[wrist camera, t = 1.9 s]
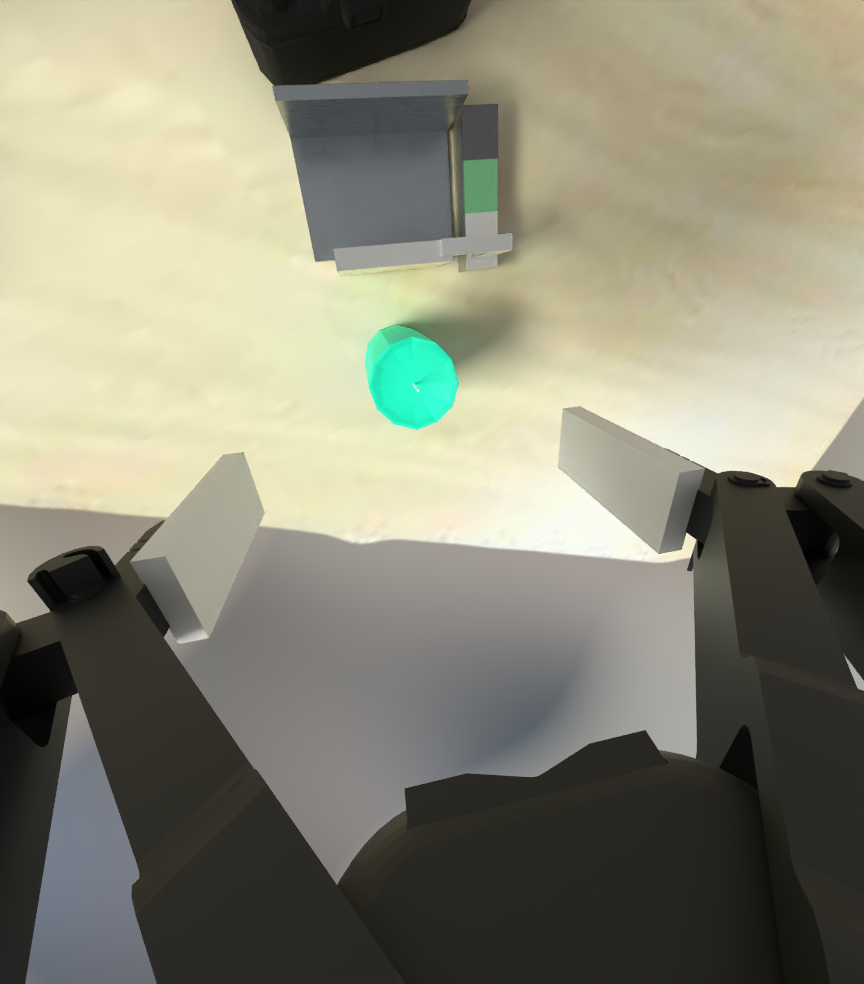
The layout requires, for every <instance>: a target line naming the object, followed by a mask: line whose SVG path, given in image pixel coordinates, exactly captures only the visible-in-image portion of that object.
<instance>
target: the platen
mask: <svg viewBox="0 0 864 984" xmlns="http://www.w3.org/2000/svg"><path fill="white" fill-rule="evenodd" d="M512 243H513V234H512V233H506V234H494V235H482V236H470V237H458V238H446V239H441V240H433V241H421V242H409V243H397V244H385V245H373V246H361V247H349V248H337V249H333V250H334V256H335V261H336V267H337V272H338V273H339V275H340V276H343V275H354V274H365V273H376V272H387V271H398V270H409V269H419V268H430V267H436V266H439V265H442V264H445V263H448V262H451V261H453V256H455V255H466V254H474V257H484V256H493V255H497V254H500V253H504V252H508V251H511V250H512Z"/></svg>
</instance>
